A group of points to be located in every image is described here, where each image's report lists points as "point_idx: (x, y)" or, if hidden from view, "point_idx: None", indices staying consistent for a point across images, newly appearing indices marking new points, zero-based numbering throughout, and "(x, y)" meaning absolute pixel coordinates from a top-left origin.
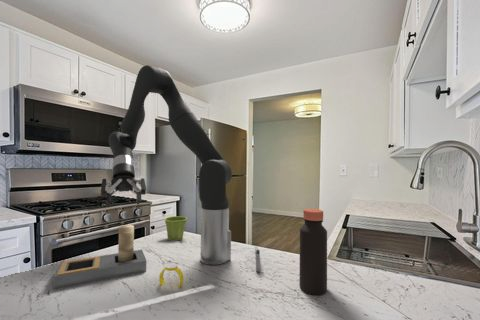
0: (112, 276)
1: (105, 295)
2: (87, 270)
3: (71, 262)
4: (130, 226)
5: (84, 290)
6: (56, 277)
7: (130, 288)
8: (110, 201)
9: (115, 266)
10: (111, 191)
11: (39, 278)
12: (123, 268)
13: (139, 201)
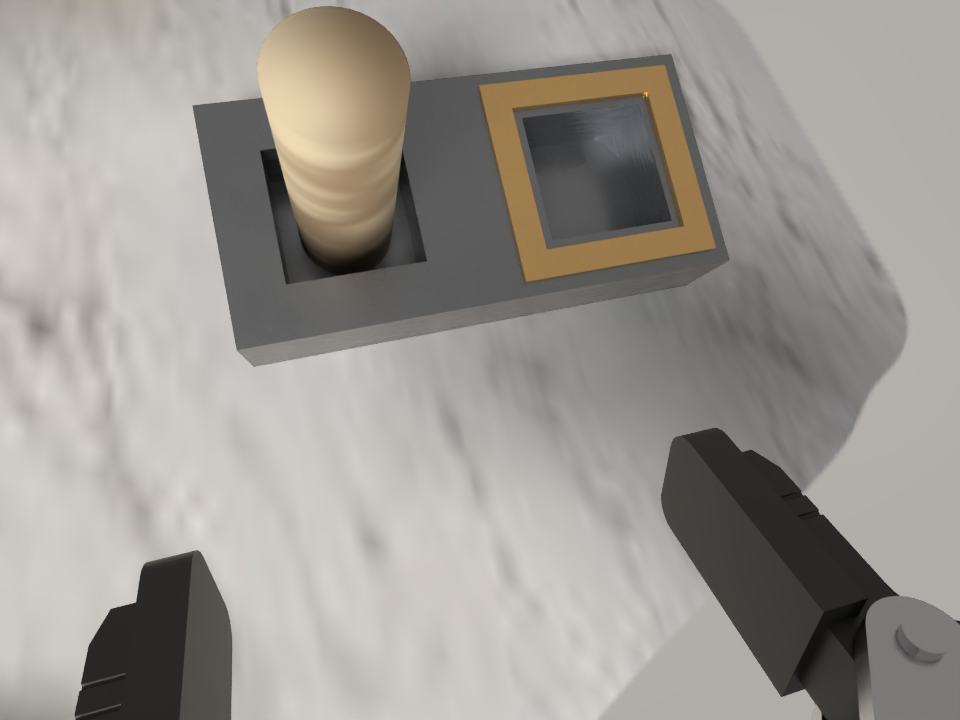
0: None
1: (401, 5)
2: (532, 75)
3: (665, 231)
4: (295, 77)
5: None
6: (657, 57)
7: None
8: (702, 439)
9: None
10: (875, 664)
11: (774, 295)
12: None
13: (153, 562)
